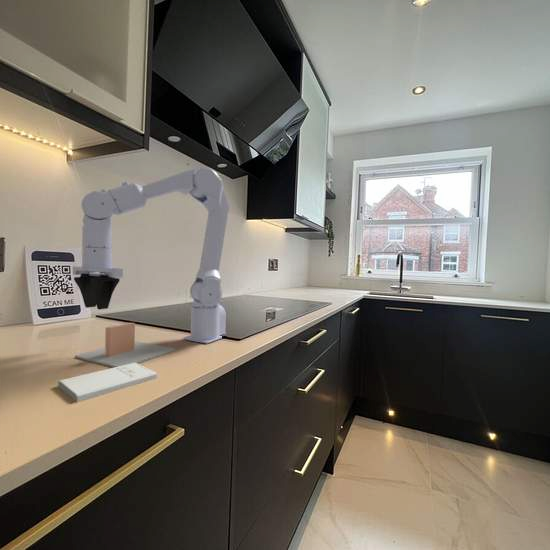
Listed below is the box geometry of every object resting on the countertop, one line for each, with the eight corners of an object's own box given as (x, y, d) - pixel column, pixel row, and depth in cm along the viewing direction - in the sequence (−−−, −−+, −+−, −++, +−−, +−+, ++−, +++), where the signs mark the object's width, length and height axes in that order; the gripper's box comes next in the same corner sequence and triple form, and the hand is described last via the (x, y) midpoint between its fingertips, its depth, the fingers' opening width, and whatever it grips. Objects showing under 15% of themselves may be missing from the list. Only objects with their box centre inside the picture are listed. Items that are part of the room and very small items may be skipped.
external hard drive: (58, 389, 48) (134, 369, 58) (77, 406, 43) (157, 381, 53) (58, 379, 48) (134, 361, 58) (77, 395, 43) (157, 372, 53)
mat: (132, 342, 75) (132, 340, 75) (175, 350, 69) (175, 348, 69) (74, 357, 62) (74, 355, 62) (121, 369, 56) (121, 367, 56)
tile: (129, 348, 68) (129, 322, 68) (134, 349, 67) (134, 323, 67) (104, 355, 62) (104, 327, 62) (109, 356, 62) (110, 328, 61)
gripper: (58, 246, 67) (58, 307, 67) (101, 247, 61) (101, 313, 61) (89, 248, 73) (89, 303, 74) (131, 249, 67) (130, 309, 67)
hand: (96, 307), depth 68 cm, fingers open, 4 cm apart
